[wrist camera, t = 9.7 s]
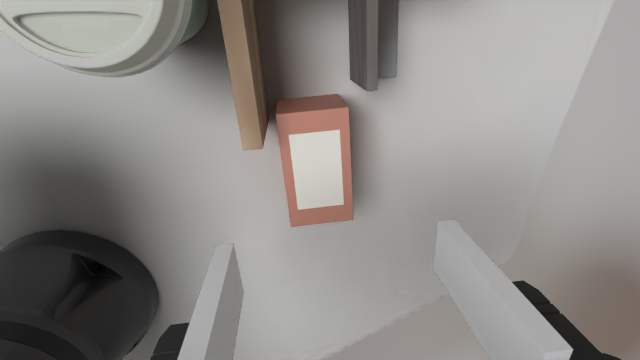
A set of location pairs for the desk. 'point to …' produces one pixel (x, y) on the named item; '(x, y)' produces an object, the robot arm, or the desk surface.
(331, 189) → the red box
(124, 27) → the coffee cup
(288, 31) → the desk surface
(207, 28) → the desk surface
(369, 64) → the shelf
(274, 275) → the desk surface
